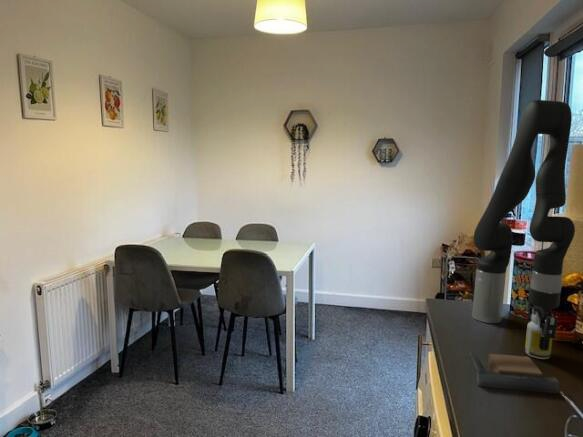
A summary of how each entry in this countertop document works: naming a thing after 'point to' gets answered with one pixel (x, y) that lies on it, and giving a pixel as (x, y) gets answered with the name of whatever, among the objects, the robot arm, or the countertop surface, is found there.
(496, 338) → the countertop surface
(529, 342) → the pill bottle
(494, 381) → the dark grey tray
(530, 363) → the slab
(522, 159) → the robot arm
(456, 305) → the countertop surface
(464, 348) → the countertop surface
